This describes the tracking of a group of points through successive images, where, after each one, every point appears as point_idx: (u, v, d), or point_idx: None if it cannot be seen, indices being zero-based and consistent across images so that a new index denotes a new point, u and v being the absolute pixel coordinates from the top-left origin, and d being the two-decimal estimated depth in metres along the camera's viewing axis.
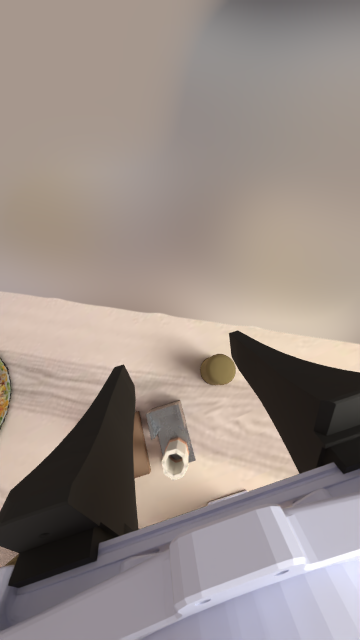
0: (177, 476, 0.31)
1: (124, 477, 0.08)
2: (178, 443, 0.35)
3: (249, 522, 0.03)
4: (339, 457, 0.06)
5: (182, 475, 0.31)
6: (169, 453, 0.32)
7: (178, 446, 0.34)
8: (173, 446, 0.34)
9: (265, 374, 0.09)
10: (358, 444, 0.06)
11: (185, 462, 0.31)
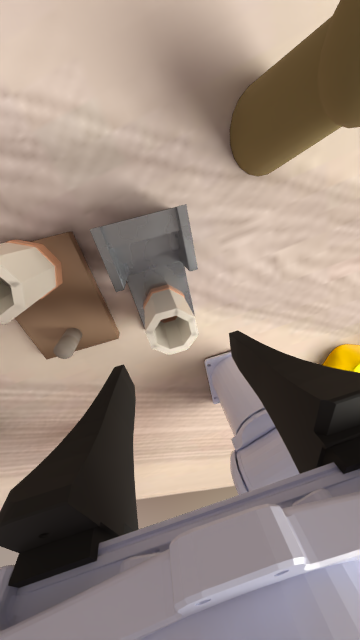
0: (176, 349, 0.16)
1: (124, 477, 0.08)
2: (173, 296, 0.17)
3: (249, 522, 0.03)
4: (339, 457, 0.06)
5: (186, 347, 0.17)
6: (161, 316, 0.15)
7: (177, 302, 0.16)
8: (166, 302, 0.16)
9: (265, 374, 0.09)
10: (358, 444, 0.06)
11: (194, 329, 0.16)
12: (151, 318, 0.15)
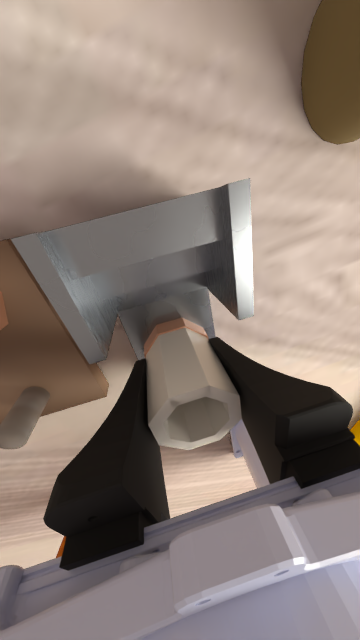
0: (202, 442, 0.10)
1: (156, 467, 0.08)
2: (195, 345, 0.10)
3: (249, 522, 0.03)
4: (297, 471, 0.06)
5: (219, 437, 0.10)
6: (180, 400, 0.08)
7: (204, 362, 0.09)
8: (185, 364, 0.09)
9: (237, 383, 0.09)
10: (317, 458, 0.06)
11: (235, 412, 0.09)
12: (159, 400, 0.08)
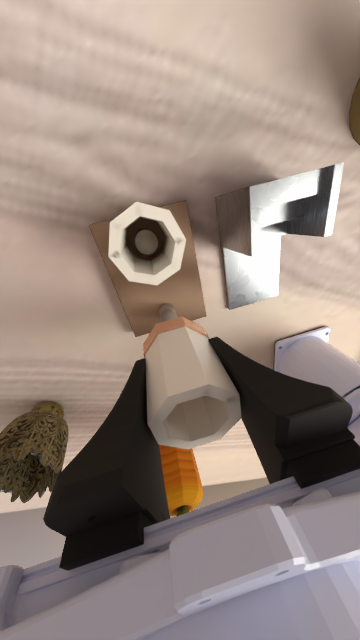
0: (202, 440, 0.09)
1: (156, 467, 0.08)
2: (195, 344, 0.10)
3: (249, 522, 0.03)
4: (297, 472, 0.06)
5: (218, 436, 0.10)
6: (179, 399, 0.08)
7: (203, 361, 0.09)
8: (185, 362, 0.09)
9: (237, 383, 0.09)
10: (317, 458, 0.06)
11: (234, 411, 0.09)
12: (159, 399, 0.08)
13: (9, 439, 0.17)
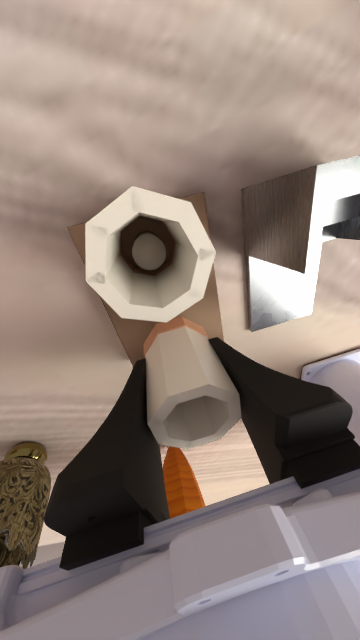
0: (202, 440, 0.09)
1: (156, 467, 0.08)
2: (194, 344, 0.10)
3: (249, 522, 0.03)
4: (297, 472, 0.06)
5: (218, 436, 0.10)
6: (179, 399, 0.08)
7: (203, 361, 0.09)
8: (185, 362, 0.09)
9: (237, 383, 0.09)
10: (317, 458, 0.06)
11: (234, 411, 0.09)
12: (159, 399, 0.08)
13: None
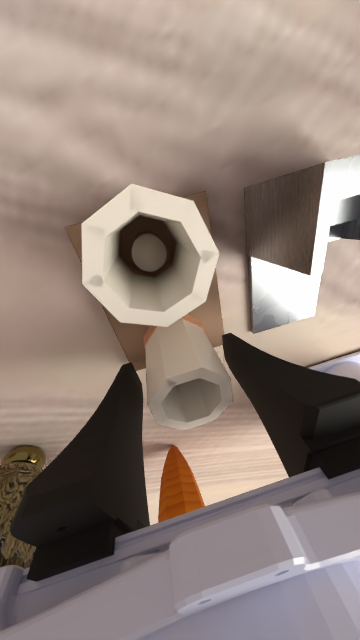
0: (197, 422, 0.10)
1: (135, 473, 0.08)
2: (191, 334, 0.11)
3: (249, 522, 0.03)
4: (324, 462, 0.06)
5: (212, 418, 0.10)
6: (176, 381, 0.09)
7: (198, 349, 0.10)
8: (181, 350, 0.10)
9: (255, 377, 0.09)
10: (344, 449, 0.06)
11: (226, 394, 0.10)
12: (157, 381, 0.09)
13: None
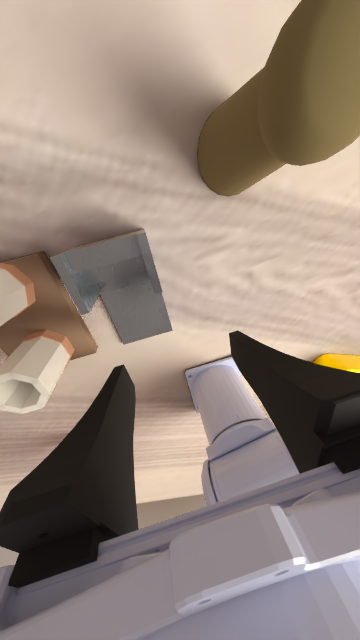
0: (30, 408, 0.15)
1: (124, 477, 0.08)
2: (34, 349, 0.16)
3: (249, 522, 0.03)
4: (339, 457, 0.06)
5: (41, 406, 0.16)
6: None
7: (26, 359, 0.15)
8: (14, 360, 0.15)
9: (265, 374, 0.09)
10: (358, 444, 0.06)
11: (42, 389, 0.15)
12: None
13: None
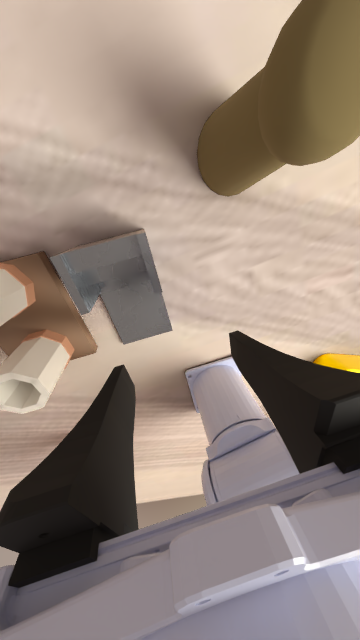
0: (30, 408, 0.15)
1: (124, 477, 0.08)
2: (34, 349, 0.16)
3: (249, 522, 0.03)
4: (339, 457, 0.06)
5: (41, 406, 0.16)
6: None
7: (26, 359, 0.15)
8: (14, 360, 0.15)
9: (265, 374, 0.09)
10: (358, 444, 0.06)
11: (42, 389, 0.15)
12: None
13: None
